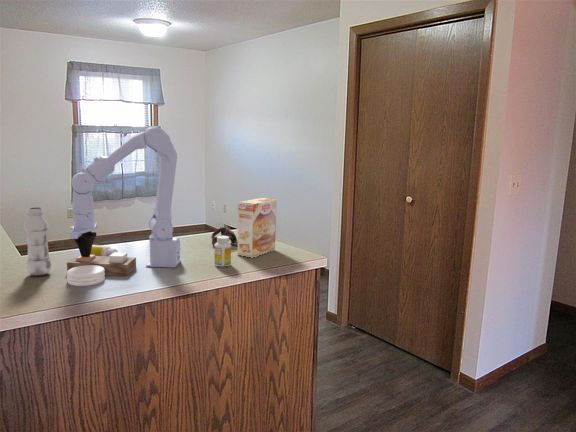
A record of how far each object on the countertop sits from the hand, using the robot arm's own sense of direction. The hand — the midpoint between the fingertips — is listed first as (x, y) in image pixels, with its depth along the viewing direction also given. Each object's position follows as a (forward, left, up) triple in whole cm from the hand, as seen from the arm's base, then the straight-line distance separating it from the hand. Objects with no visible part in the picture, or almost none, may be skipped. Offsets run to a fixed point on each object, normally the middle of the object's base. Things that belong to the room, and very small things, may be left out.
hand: (85, 256), depth 141 cm
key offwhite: (-10, 0, -2) cm, 10 cm away
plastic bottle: (+11, +5, -5) cm, 14 cm away
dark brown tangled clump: (-38, -37, -5) cm, 53 cm away
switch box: (-5, 0, -4) cm, 7 cm away
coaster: (-4, +9, -5) cm, 11 cm away
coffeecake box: (-51, -28, -5) cm, 58 cm away
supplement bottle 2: (-41, -11, -5) cm, 42 cm away
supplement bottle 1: (+4, -11, -2) cm, 12 cm away
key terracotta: (0, 0, -3) cm, 3 cm away
